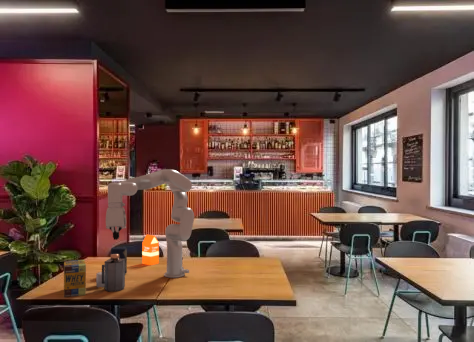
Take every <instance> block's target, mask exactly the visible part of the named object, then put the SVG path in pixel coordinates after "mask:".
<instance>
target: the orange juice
mask: <svg viewBox="0 0 474 342" xmlns="http://www.w3.org/2000/svg"><path fill="white" fill-rule="evenodd" d="M141 244H142V248H141V250H142V251H141V254H142V255H141V257H142V258H141V264H143V265H147V266H153V265H154V266H155V265H158V264H159V263H160V261H159V260H160V241H158V239H157V236H156V235H153V234H146V235H145V237H144V239H143V240H142V243H141Z"/></svg>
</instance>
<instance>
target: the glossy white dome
mask: <svg viewBox="0 0 474 342" xmlns="http://www.w3.org/2000/svg"><path fill="white" fill-rule="evenodd" d="M95 276H96V277H95V279H96V281H95V283H96V284H95V287H96V288H99V287H102V288H105V284H102V271H100V272H99V271H98V272H97V273H96V275H95ZM104 281H105V271H104Z"/></svg>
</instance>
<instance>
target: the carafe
mask: <svg viewBox="0 0 474 342" xmlns="http://www.w3.org/2000/svg"><path fill="white" fill-rule="evenodd" d="M101 272H102V284H105V287H104V291H105V292H107V293H108V292H110V293H114V292H121V291H123V290H125V287H126V274H125V259H118V260H116V261H115V262H114V260H111V258H109V259H107V260H105V261H104V264H102V265H101ZM104 272H105V281H104Z"/></svg>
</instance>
